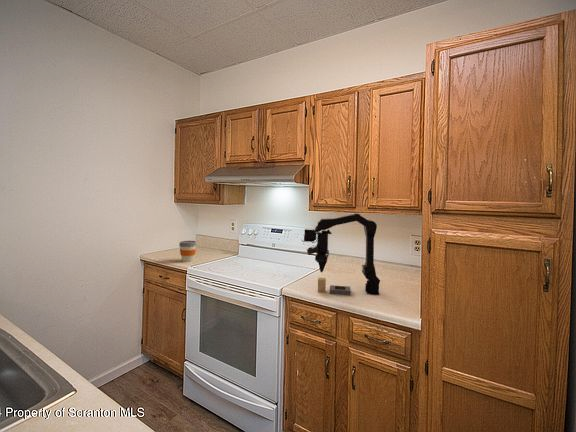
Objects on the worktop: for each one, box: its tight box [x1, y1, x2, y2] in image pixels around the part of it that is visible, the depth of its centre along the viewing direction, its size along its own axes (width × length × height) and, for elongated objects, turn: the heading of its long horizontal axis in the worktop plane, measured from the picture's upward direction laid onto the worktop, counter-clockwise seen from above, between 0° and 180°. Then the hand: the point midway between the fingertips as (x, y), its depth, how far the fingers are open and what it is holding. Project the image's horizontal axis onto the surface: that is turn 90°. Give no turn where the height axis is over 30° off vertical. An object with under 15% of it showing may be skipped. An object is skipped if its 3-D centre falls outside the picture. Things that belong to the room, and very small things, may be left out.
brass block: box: [317, 277, 327, 294], centre depth 159 cm, size 4×4×7 cm
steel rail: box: [329, 284, 351, 296], centre depth 158 cm, size 11×8×2 cm
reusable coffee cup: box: [179, 240, 197, 263], centre depth 227 cm, size 13×13×15 cm
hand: (322, 269), depth 159 cm, fingers open, 9 cm apart
